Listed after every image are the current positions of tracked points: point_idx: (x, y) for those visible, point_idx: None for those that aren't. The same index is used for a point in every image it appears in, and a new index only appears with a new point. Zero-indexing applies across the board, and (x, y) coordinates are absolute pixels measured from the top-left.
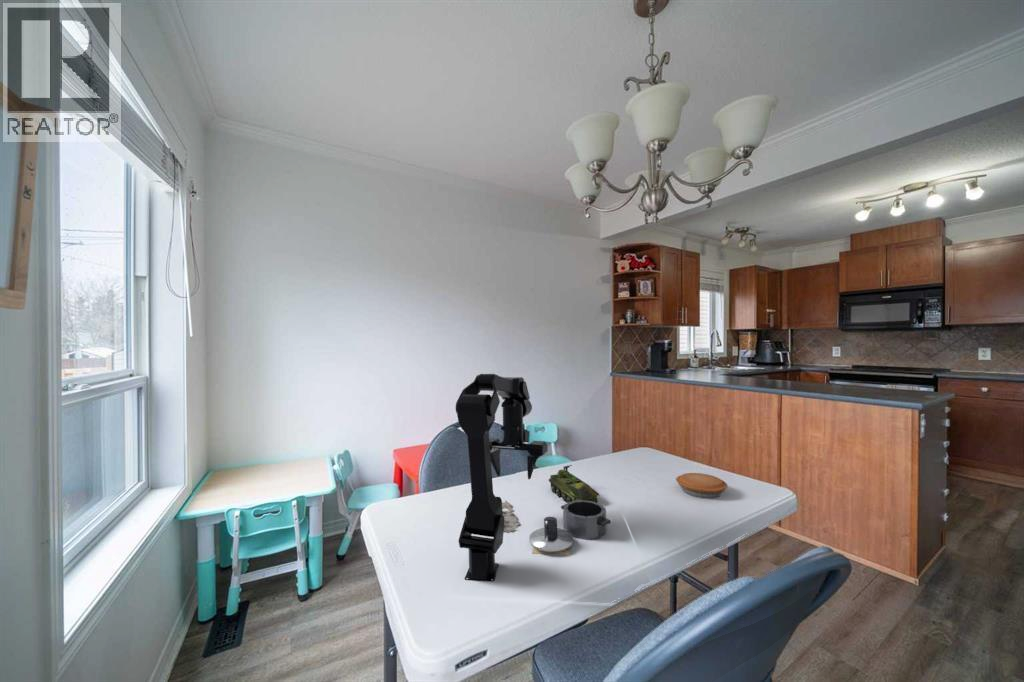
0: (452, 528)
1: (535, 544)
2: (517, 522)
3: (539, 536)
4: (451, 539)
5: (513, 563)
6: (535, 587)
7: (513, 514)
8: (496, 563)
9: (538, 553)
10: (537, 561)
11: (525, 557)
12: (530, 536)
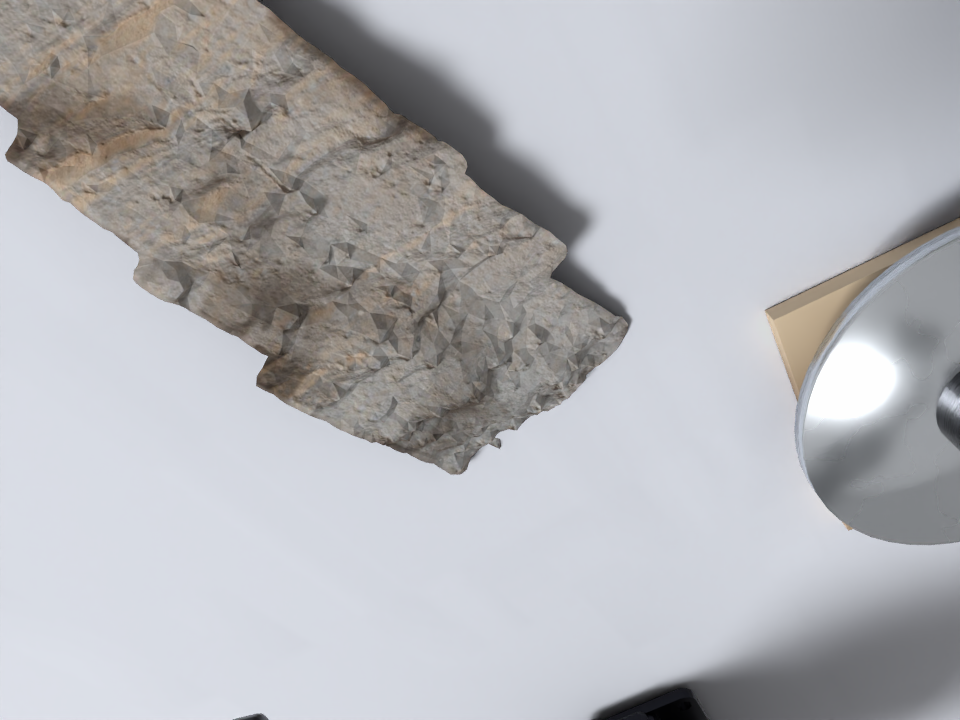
0: (23, 562)
1: (892, 533)
2: (527, 238)
3: (890, 432)
4: (184, 657)
5: (754, 624)
6: (940, 691)
7: (393, 132)
8: (678, 700)
9: None
10: None
11: (801, 548)
12: (816, 470)
